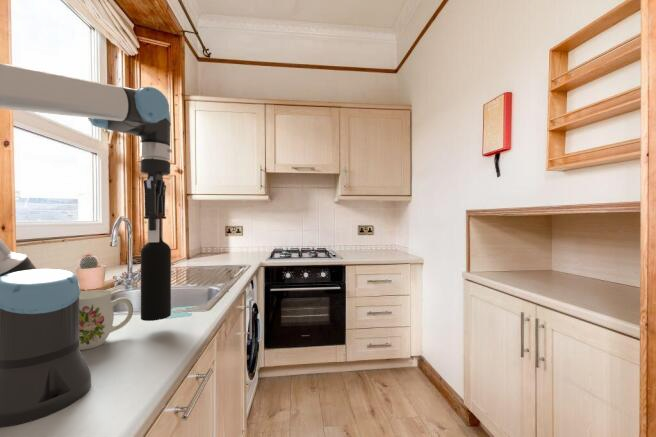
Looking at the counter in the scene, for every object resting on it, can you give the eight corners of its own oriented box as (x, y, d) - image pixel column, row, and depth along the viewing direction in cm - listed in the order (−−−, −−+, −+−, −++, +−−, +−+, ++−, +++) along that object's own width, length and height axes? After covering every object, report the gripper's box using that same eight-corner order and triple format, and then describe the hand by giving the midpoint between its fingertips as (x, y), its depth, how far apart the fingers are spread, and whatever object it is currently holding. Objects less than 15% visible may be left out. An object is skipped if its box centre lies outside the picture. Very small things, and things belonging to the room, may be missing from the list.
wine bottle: (136, 321, 84) (136, 212, 84) (146, 313, 91) (146, 212, 91) (166, 319, 85) (166, 212, 85) (173, 311, 93) (173, 212, 93)
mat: (203, 315, 103) (203, 315, 103) (164, 318, 100) (164, 318, 100) (208, 305, 115) (208, 305, 115) (173, 308, 112) (173, 307, 112)
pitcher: (136, 341, 82) (136, 290, 82) (45, 362, 71) (45, 302, 70) (130, 329, 91) (129, 283, 91) (47, 346, 79) (47, 293, 79)
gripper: (162, 155, 81) (162, 243, 81) (176, 165, 97) (176, 239, 97) (130, 153, 79) (130, 244, 79) (149, 164, 95) (149, 239, 95)
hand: (155, 241), depth 88 cm, fingers closed on wine bottle, 3 cm apart
